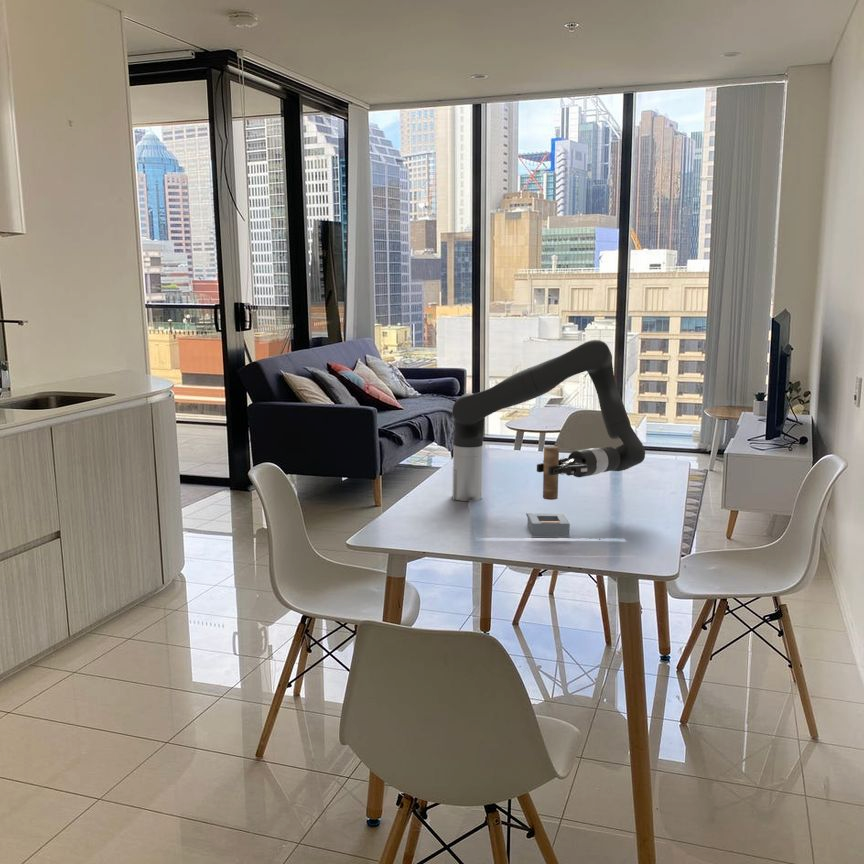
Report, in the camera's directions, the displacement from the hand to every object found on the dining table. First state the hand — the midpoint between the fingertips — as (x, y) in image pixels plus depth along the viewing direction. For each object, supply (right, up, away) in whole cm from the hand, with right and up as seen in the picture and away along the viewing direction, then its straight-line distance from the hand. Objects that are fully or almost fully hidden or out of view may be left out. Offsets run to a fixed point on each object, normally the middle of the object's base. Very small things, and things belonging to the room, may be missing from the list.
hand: (543, 469), depth 232 cm
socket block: (+2, -17, +4) cm, 18 cm away
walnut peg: (+2, -8, +3) cm, 9 cm away
